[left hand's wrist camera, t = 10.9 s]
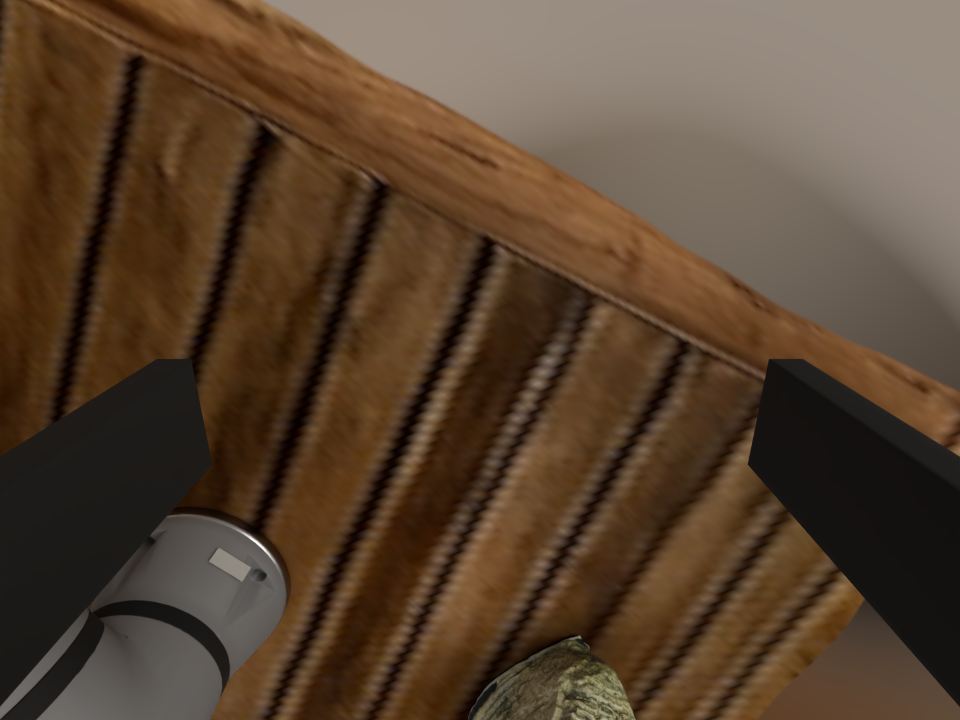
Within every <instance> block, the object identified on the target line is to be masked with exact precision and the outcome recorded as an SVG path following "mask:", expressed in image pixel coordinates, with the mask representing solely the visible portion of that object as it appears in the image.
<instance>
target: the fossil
mask: <svg viewBox="0 0 960 720" xmlns="http://www.w3.org/2000/svg"><path fill="white" fill-rule="evenodd" d="M468 719H469V720H635V717H634V715H633V711H632V708H631V706H630V703H629V701H628V698H627V695H626V692H625V690H624V688H623V686H622V684H621V682H620V679H619V677H618V676H617V674H616V672H615V671H614V669H612V668H611V667H610V666H609V665H608V664H607V663H605V662H603V661H602V660H601V659H599V658H597V657H595V656H593V655H591V653H590V649H589V646H588V645H587V644H585V643H584V642H583V641H582V639H581V636H577V637H573V638H569V639H566V640H563V641H561V642H560V643H558V644H556V645H553V646H551V647H549V648H546V649H544V650H542V651H541V652H539V653H537V654H535V655H532V656H531V657H530V658H529V659H528V660H526V661H523V662H521V663H519V664H516V665H515V666H513V667H512V668H511V669H509V670H508V671H506V672H505V673H503V674H502V675H500V676H499V677H498V678H496V679H495V680H494V681H493V682H491V683H490V684H489V685H488V686H487V687H486V688H485V689H484V691H483V692H482V694H481V695H480V696H479V698H478V699H477V702H476V704H475V705H474V706H473V707H472V709H471V711H470V714H469V717H468Z"/></svg>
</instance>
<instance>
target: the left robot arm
mask: <svg viewBox="0 0 960 720" xmlns="http://www.w3.org/2000/svg"><path fill="white" fill-rule="evenodd" d="M211 465H212V461H211V456H210V451H209V446H208V441H207V436H206V431H205V427H204V422H203V417H202V412H201V407H200V402H199V397H198V392H197V387H196V382H195V377H194V372H193V367H192V362H191V359H157V360H155V361H153V362H152V363H150V364H149V365H147V366H145V367H144V368H142V369H140V370H139V371H137V372H136V373H134V374H132V375H131V376H129V377H128V378H126V379H124V380H123V381H121V382H120V383H118V384H116V385H115V386H113V387H112V388H110V389H108V390H107V391H105V392H103V393H102V394H100V395H99V396H97V397H95V398H94V399H92V400H91V401H89V402H87V403H86V404H84V405H83V406H81V407H79V408H78V409H76V410H75V411H73V412H71V413H70V414H68V415H67V416H65V417H63V418H62V419H60V420H58V421H57V422H55V423H54V424H52V425H50V426H49V427H47V428H46V429H44V430H42V431H41V432H39V433H38V434H36V435H34V436H33V437H31V438H30V439H28V440H26V441H25V442H23V443H22V444H20V445H18V446H17V447H15V448H13V449H12V450H10V451H9V452H7V453H5V454H4V455H2V456H1V457H0V720H210V718H211V716H212V714H213V712H214V710H215V708H216V706H217V703H218V701H219V699H220V697H221V695H222V693H223V691H224V689H225V686H226V684H227V682H228V680H229V679H230V678H231V677H232V676H233V674H234V673H235V672H236V671H237V670H238V669H239V668H240V667H241V666H242V665H243V664H244V663H245V662H246V661H247V660H248V658H249V657H250V656H251V655H252V654H253V653H254V652H255V651H256V650H257V649H258V648H259V647H260V646H261V645H262V644H263V642H264V641H265V640H266V639H267V638H268V637H269V636H270V635H271V633H272V632H273V630H274V629H275V627H276V626H277V624H278V623H279V621H280V619H281V617H282V615H283V613H284V610H285V608H286V606H287V603H288V600H289V596H290V577H289V572H288V569H287V566H286V564H285V562H284V560H283V558H282V556H281V554H280V553H279V551H278V550H277V549H276V547H275V546H274V545H273V544H272V543H271V542H270V540H269V539H267V538H266V537H265V536H264V535H263V534H262V533H261V532H259V531H258V530H257V529H255V528H254V527H252V526H251V525H249V524H247V523H246V522H244V521H242V520H240V519H238V518H235V517H233V516H230V515H228V514H225V513H221V512H218V511H213V510H208V509H200V508H180V509H174V508H175V506H176V505H177V504H178V503H179V502H180V501H181V500H182V498H183V497H184V496H185V495H186V494H187V493H188V492H189V490H190V489H191V488H192V487H193V486H194V485H195V484H196V482H197V481H198V480H199V479H200V478H201V477H202V476H203V474H204V473H205V472H206V471H207V470H208V469H209V468H210V466H211ZM748 465H749V466H750V468H751V469H752V470H753V471H754V472H755V473H756V474H757V476H758V477H759V478H760V479H761V480H762V481H763V482H764V484H765V485H766V486H767V487H768V488H769V489H770V490H771V492H772V493H773V494H774V495H775V496H776V497H777V498H778V500H779V501H780V502H781V503H782V504H783V505H784V506H785V508H786V509H787V510H788V511H789V512H790V513H791V514H792V516H793V517H794V518H795V519H796V520H797V521H798V522H799V524H800V525H801V526H802V527H803V528H804V529H805V530H806V532H807V533H808V534H809V535H810V536H811V537H812V538H813V540H814V541H815V542H816V543H817V544H818V545H819V546H820V548H821V549H822V550H823V551H824V552H825V553H826V554H827V556H828V557H829V558H830V559H831V560H832V561H833V562H834V564H835V565H836V566H837V567H838V568H839V569H840V570H841V572H842V573H843V574H844V575H845V576H846V577H847V578H848V580H849V581H850V582H851V583H852V584H853V585H854V586H855V588H856V589H857V590H858V591H859V592H860V593H861V594H862V596H863V597H864V598H865V599H866V600H867V601H868V602H869V603H870V605H871V606H872V607H873V608H874V609H875V610H876V612H877V613H878V614H879V615H880V616H881V617H882V618H883V620H884V621H885V622H886V623H887V624H888V625H889V626H890V628H891V629H892V630H893V631H894V632H895V633H896V634H897V636H898V637H899V638H900V639H901V640H902V641H903V642H904V644H905V645H906V646H907V647H908V648H909V649H910V650H911V652H912V653H913V654H914V655H915V656H916V657H917V658H918V660H919V661H920V662H921V663H922V664H923V665H924V666H925V668H926V669H927V670H928V671H929V672H930V673H931V674H932V676H933V677H934V678H935V679H936V680H937V681H938V683H939V684H940V685H941V686H942V687H943V688H944V689H945V690H946V692H947V693H948V694H949V695H950V696H951V697H952V699H953V700H954V701H955V702H956V703H957V704H958V705H959V706H960V457H959V456H958V455H956V454H955V453H953V452H951V451H950V450H948V449H947V448H945V447H943V446H942V445H940V444H938V443H937V442H935V441H934V440H932V439H930V438H929V437H927V436H926V435H924V434H922V433H921V432H919V431H918V430H916V429H914V428H913V427H911V426H910V425H908V424H906V423H905V422H903V421H902V420H900V419H898V418H897V417H895V416H893V415H892V414H890V413H889V412H887V411H885V410H884V409H882V408H881V407H879V406H877V405H876V404H874V403H873V402H871V401H869V400H868V399H866V398H865V397H863V396H861V395H860V394H858V393H857V392H855V391H853V390H852V389H850V388H848V387H847V386H845V385H844V384H842V383H840V382H839V381H837V380H836V379H834V378H832V377H831V376H829V375H828V374H826V373H824V372H823V371H821V370H820V369H818V368H816V367H815V366H813V365H811V364H810V363H808V362H807V361H805V360H803V359H769V362H768V367H767V372H766V377H765V382H764V387H763V392H762V397H761V402H760V407H759V412H758V417H757V422H756V427H755V431H754V436H753V441H752V446H751V451H750V456H749V461H748ZM93 600H94V602H93V604H92V607H91V609H90V610H89V609H88V606H89V605H90V604H91V602H92V601H93Z"/></svg>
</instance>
